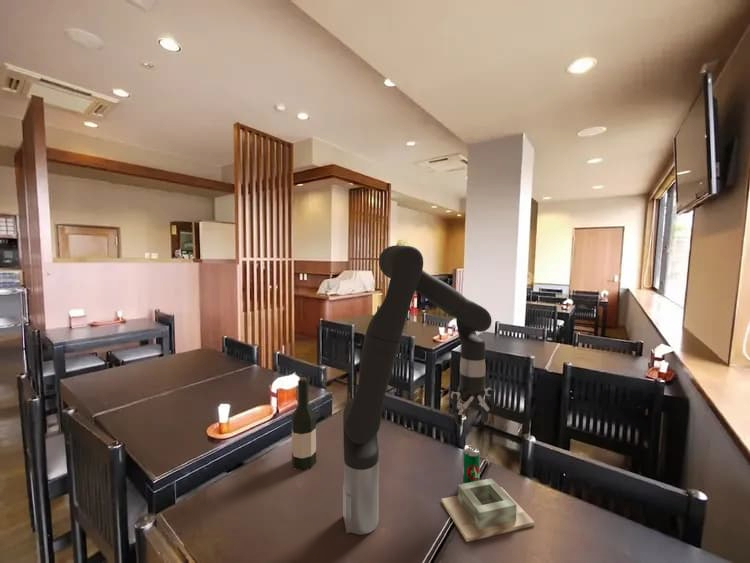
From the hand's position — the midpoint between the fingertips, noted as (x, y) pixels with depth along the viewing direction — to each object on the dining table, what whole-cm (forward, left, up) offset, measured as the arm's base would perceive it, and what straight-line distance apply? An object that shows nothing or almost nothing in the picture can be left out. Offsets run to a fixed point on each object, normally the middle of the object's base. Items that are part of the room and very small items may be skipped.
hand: (471, 423), depth 100 cm
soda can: (0, 0, -20) cm, 20 cm away
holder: (-2, -11, -20) cm, 23 cm away
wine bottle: (-50, +25, -20) cm, 59 cm away
